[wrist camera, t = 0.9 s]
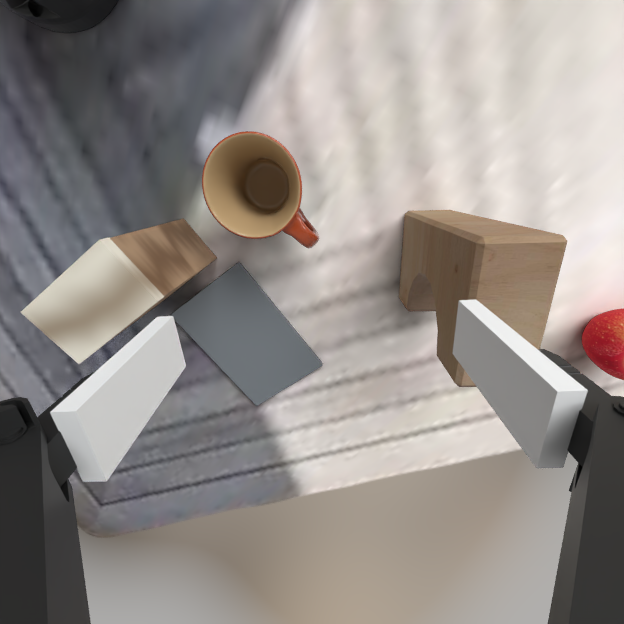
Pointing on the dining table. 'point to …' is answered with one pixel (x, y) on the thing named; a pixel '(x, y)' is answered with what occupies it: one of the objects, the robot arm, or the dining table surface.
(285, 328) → the mat
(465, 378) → the decorative block
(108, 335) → the brown and cream block
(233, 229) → the mug
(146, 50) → the dining table surface
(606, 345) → the apple
